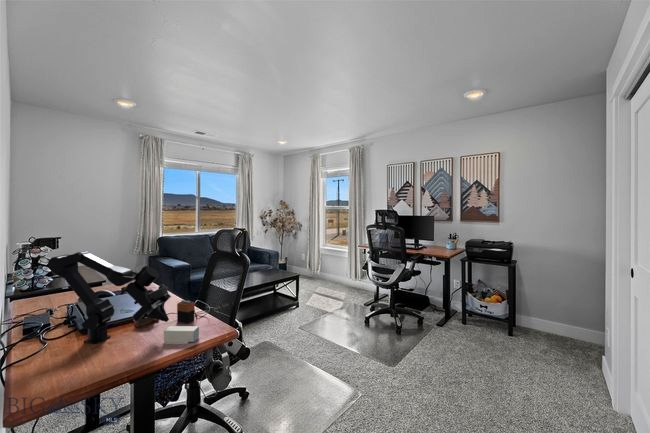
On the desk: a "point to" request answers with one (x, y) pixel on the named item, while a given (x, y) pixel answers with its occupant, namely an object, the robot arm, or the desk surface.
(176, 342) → the felt mat
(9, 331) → the desk surface
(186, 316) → the battery
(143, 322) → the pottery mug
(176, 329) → the cream block
